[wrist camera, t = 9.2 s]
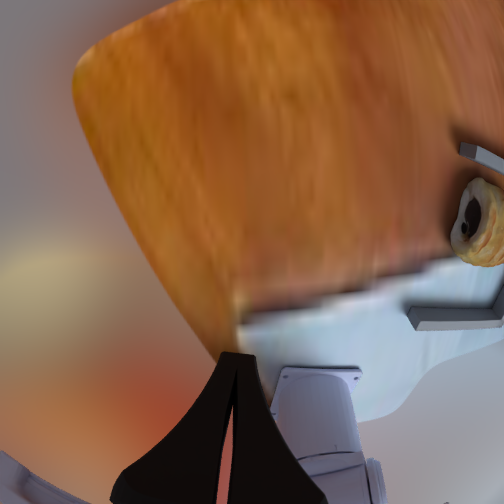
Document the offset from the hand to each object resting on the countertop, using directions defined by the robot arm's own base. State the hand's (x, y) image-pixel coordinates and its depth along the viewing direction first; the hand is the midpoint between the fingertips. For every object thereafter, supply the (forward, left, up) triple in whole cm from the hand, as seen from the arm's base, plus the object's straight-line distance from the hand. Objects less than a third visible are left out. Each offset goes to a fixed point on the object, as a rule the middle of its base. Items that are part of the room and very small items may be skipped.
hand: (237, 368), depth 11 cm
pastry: (+6, -19, -10) cm, 22 cm away
